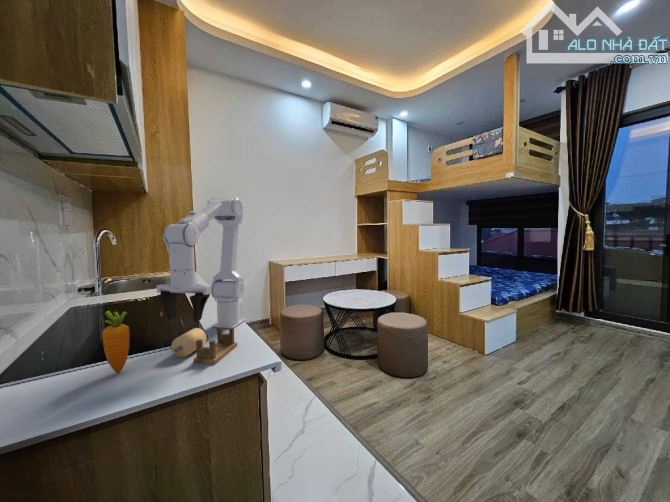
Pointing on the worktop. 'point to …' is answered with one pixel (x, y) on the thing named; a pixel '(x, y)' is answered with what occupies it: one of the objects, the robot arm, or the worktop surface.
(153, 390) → the worktop surface
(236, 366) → the worktop surface
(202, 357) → the roll holder
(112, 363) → the carrot
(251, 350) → the worktop surface
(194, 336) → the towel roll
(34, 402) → the worktop surface
